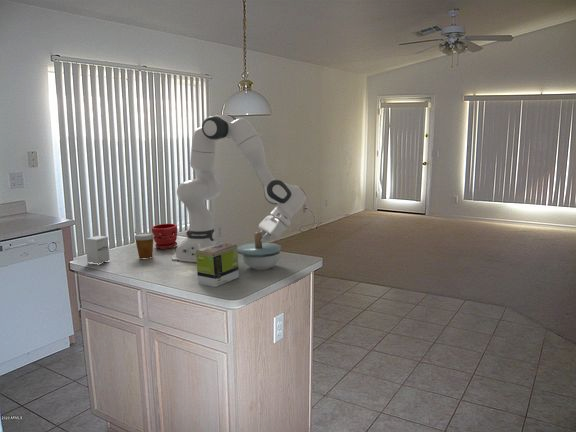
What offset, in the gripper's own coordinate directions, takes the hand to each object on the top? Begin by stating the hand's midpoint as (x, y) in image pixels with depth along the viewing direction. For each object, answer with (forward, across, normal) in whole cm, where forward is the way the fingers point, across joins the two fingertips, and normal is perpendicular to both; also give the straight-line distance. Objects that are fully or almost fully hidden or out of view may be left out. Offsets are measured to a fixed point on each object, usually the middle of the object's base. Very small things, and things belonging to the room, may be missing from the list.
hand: (259, 240), depth 220 cm
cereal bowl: (+9, 0, +10) cm, 13 cm away
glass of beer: (+42, -41, -24) cm, 64 cm away
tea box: (+25, +12, -6) cm, 28 cm away
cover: (+4, 0, +3) cm, 4 cm away
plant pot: (+34, -60, -16) cm, 71 cm away
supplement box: (+58, -41, -40) cm, 81 cm away
